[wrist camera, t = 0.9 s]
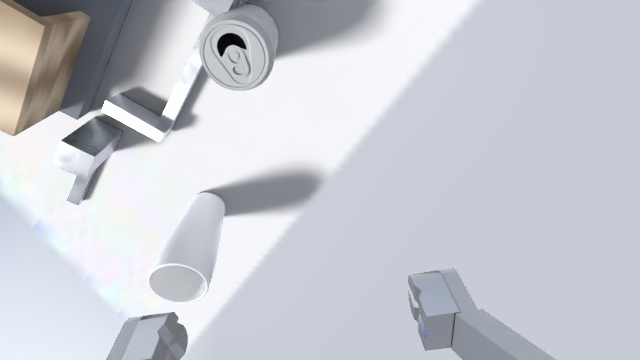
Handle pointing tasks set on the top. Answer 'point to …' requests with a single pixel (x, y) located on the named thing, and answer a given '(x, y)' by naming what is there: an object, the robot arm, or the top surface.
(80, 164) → the mallet
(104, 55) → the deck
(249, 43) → the beverage can
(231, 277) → the top surface
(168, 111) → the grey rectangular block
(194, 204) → the drinking glass
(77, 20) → the cubby
